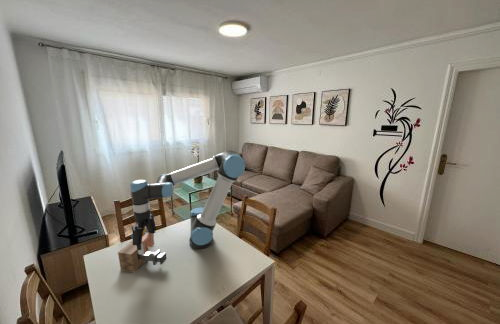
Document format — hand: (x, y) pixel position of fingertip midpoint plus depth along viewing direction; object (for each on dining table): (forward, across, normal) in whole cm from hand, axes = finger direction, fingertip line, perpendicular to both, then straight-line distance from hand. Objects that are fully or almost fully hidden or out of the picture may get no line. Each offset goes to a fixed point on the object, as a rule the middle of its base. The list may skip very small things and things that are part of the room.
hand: (146, 248), depth 108 cm
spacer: (0, 0, 0) cm, 0 cm away
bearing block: (+11, 0, -8) cm, 13 cm away
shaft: (+7, 0, +1) cm, 7 cm away
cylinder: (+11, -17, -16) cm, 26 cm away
